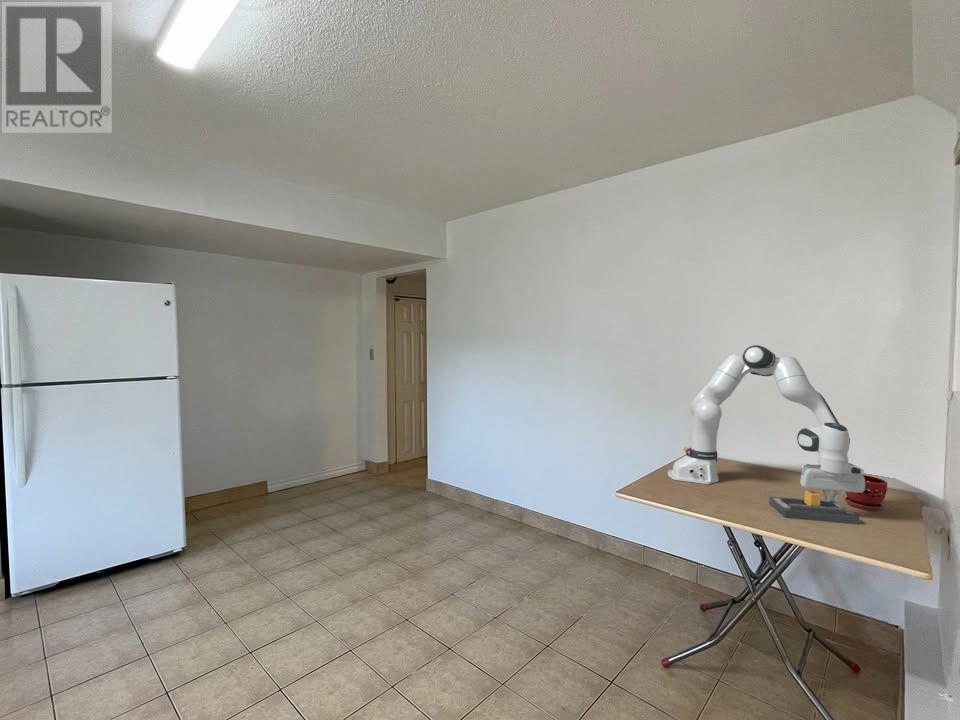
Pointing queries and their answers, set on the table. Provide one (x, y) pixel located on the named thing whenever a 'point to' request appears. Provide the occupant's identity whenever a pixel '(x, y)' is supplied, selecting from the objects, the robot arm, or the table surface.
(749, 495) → the table surface
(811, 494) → the block
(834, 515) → the gray rectangular tray
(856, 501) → the plant pot
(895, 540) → the table surface
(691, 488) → the table surface
